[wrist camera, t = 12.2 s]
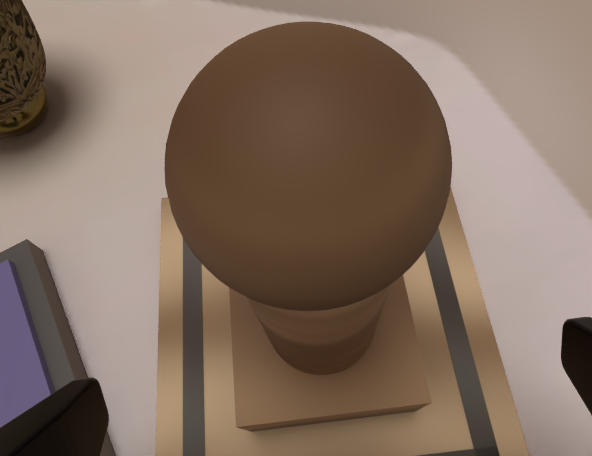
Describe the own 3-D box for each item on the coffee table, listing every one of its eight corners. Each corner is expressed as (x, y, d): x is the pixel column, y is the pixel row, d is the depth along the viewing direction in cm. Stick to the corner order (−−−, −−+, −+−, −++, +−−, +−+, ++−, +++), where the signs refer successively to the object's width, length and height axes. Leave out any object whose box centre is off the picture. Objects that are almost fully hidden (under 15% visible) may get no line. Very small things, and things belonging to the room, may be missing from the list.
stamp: (416, 411, 17) (669, 275, 4) (251, 431, 17) (6, 361, 4) (384, 258, 20) (479, -111, 7) (241, 276, 20) (72, -54, 7)
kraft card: (542, 518, 16) (549, 520, 15) (158, 563, 16) (152, 565, 15) (440, 168, 22) (443, 161, 21) (165, 203, 22) (161, 197, 22)
